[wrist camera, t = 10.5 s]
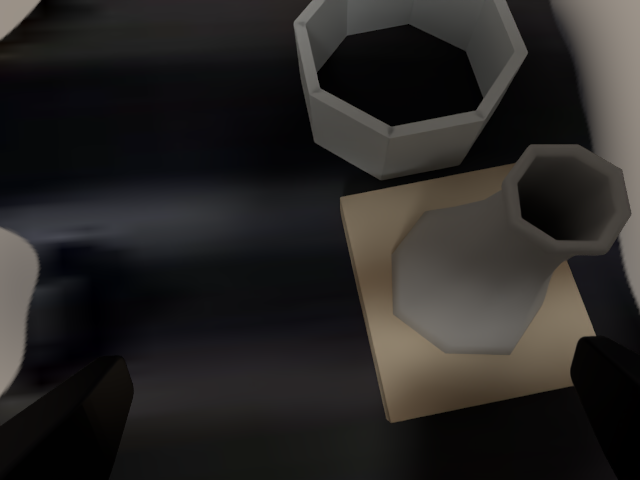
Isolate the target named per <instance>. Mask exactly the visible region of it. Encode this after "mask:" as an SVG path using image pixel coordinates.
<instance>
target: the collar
mask: <svg viewBox="0 0 640 480" xmlns="http://www.w3.org/2000/svg"><path fill="white" fill-rule="evenodd" d="M406 24H410V25H412V26H414V27H416V28H418V29H420V30H423V31H425V32H427V33H429V34H431V35H433V36H435V37H437V38H439V39H441V40H444V41H446V42H448V43H450V44H452V45H454V46H456V47H458V48H460V49H462V50H464V51H466V53H467V56H468V58H469V61H470V64H471V66H472V69H473V72H474V74H475V77H476V80H477V82H478V85H479V88H480V91H481V93H482V96H483V100H482V102H481V104H480V105H479V107H478V108H477V110H476V111H471V112H466V113H461V114H456V115H451V116H445V117H440V118H435V119H430V120H425V121H419V122H414V123H409V124H404V125H399V126H393V127H391V126H389V125H387V124H385V123H383V122H382V121H380V120H378V119H376V118H374V117H372V116H371V115H369V114H367V113H365V112H363V111H361V110H359V109H358V108H356V107H354V106H352V105H350V104H348V103H346V102H345V101H343V100H341V99H339V98H337V97H335V96H334V95H332V94H330V93H328V92H326V91H324V90H322V89H321V88H320V86H319V81H318V77H317V72H318V71H319V70H320V69H321V67H322V66H323V65H324V64H325V62H326V61H327V60H328V59H329V57H330V56H331V55H332V54H333V52H334V51H335V50H336V49H337V47H338V46H339V45H340V44H341V42H342V41H343V40H344V39H345V37H346V36H348V35H353V34H358V33H364V32H369V31H374V30H380V29H385V28H390V27H396V26H401V25H406ZM294 31H295V38H296V46H297V54H298V61H299V69H300V77H301V82H302V87H303V92H304V96H305V101H306V106H307V110H308V115H309V120H310V124H311V129H312V134H313V138H314V142H315V143H316V144H318V145H320V146H322V147H323V148H325V149H327V150H329V151H330V152H332V153H334V154H336V155H337V156H339V157H341V158H343V159H344V160H346V161H348V162H349V163H351V164H353V165H355V166H356V167H358V168H360V169H362V170H363V171H365V172H367V173H369V174H370V175H372V176H374V177H376V178H377V179H379V180H386V179H392V178H397V177H402V176H407V175H412V174H417V173H422V172H428V171H433V170H438V169H443V168H448V167H453V166H458V165H460V164H461V163H462V161H463V159H464V158H465V156H466V155H467V153H468V152H469V150H470V149H471V147H472V145H473V144H474V142H475V141H476V139H477V138H478V136H479V135H480V133H481V131H482V130H483V128H484V127H485V125H486V124H487V122H488V121H489V119H490V117H491V116H492V114H493V113H494V111H495V110H496V108H497V106H498V105H499V103H500V101H501V99H502V98H503V96H504V94H505V92H506V91H507V89H508V87H509V85H510V84H511V82H512V80H513V78H514V77H515V75H516V73H517V71H518V70H519V68H520V66H521V64H522V63H523V61H524V59H525V57H526V56H527V54H528V51H527V49H526V47H525V44H524V42H523V40H522V37H521V35H520V33H519V30H518V28H517V26H516V23H515V21H514V19H513V16H512V14H511V12H510V9H509V7H508V5H507V2H506V0H312V1H311V3H310V4H309V5H308V6H307V7H306V8H305V10H304V11H303V12H302V13H301V14H300V16H299V17H298V18H297V19H296V20H295V21H294Z"/></svg>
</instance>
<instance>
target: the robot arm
mask: <svg viewBox="0 0 640 480" xmlns="http://www.w3.org/2000/svg"><path fill="white" fill-rule="evenodd" d="M570 376H571V380H572V383H573V385H574V387H575V389H576V392H577V394H578V396H579V399H580V401H581V403H582V405H583V408H584V410H585V412H586V414H587V417H588V419H589V421H590V423H591V426H592V428H593V430H594V433H595V435H596V437H597V439H598V442H599V444H600V446H601V448H602V450H603V452H604V454H605V456H606V458H607V460H608V462H609V464H610V466H611V467H612V469H613V471H614V473H615V475H616V476H617V478H618V480H640V355H639V354H637V353H635V352H634V351H632V350H630V349H628V348H626V347H624V346H622V345H620V344H618V343H616V342H614V341H613V340H611V339H609V338H607V337H604V336H584V337H581V338H580V339H579V340H578V342H577V345H576V349H575V352H574V356H573V359H572V363H571V367H570ZM133 394H134V388H133V383H132V380H131V377H130V374H129V371H128V368H127V365H126V362H125V360H124V358H123V357H122V356H118V355H115V356H101V357H99V358H97V359H96V360H94V361H93V362H91V363H90V364H88V365H87V366H86V367H84V368H83V369H81V370H80V371H78V372H77V373H76V374H74V375H73V376H71V377H70V378H68V379H67V380H66V381H64V382H63V383H61V384H60V385H58V386H57V387H56V388H54V389H53V390H51V391H50V392H48V393H47V394H46V395H44V396H43V397H41V398H40V399H38V400H37V401H36V402H34V403H33V404H31V405H30V406H28V407H27V408H26V409H24V410H23V411H21V412H20V413H18V414H17V415H15V416H14V417H13V418H11V419H10V420H8V421H7V422H5V423H4V424H3V425H1V426H0V480H108V479H109V477H110V474H111V471H112V468H113V465H114V462H115V458H116V455H117V451H118V448H119V444H120V441H121V437H122V434H123V430H124V427H125V423H126V420H127V417H128V413H129V410H130V406H131V403H132V399H133Z"/></svg>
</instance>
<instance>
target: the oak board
mask: <svg viewBox="0 0 640 480" xmlns="http://www.w3.org/2000/svg"><path fill="white" fill-rule="evenodd" d="M515 164H516V163H513V164H508V165H503V166H498V167H493V168H488V169H482V170H477V171H472V172H467V173H462V174H457V175H452V176H447V177H441V178H436V179H431V180H426V181H421V182H416V183H411V184H406V185H400V186H395V187H390V188H385V189H380V190H375V191H370V192H365V193H359V194H354V195H349V196H344V197H340V213H341V218H342V222H343V227H344V231H345V236H346V240H347V245H348V249H349V254H350V258H351V262H352V267H353V271H354V276H355V280H356V285H357V289H358V294H359V298H360V303H361V307H362V312H363V316H364V321H365V325H366V330H367V334H368V339H369V343H370V348H371V352H372V356H373V361H374V365H375V370H376V374H377V379H378V383H379V388H380V392H381V397H382V401H383V406H384V410H385V415H386V419H387V420H388V421H389V422H391V423H393V422H398V421H403V420H408V419H413V418H418V417H423V416H428V415H433V414H437V413H442V412H447V411H452V410H457V409H462V408H467V407H472V406H477V405H481V404H486V403H491V402H496V401H501V400H506V399H511V398H516V397H520V396H525V395H530V394H535V393H540V392H545V391H550V390H555V389H560V388H564V387H569V386H574V385H573V383H572V380H571V376H570V367H571V363H572V359H573V356H574V352H575V349H576V345H577V342H578V340H579V339H580V338H581V337H584V336H596V334H595V332H594V329H593V327H592V324H591V322H590V319H589V316H588V314H587V311H586V309H585V306H584V304H583V301H582V298H581V296H580V293H579V291H578V288H577V286H576V283H575V281H574V278H573V275H572V273H571V270H570V268H569V265H568V263H567V260H566V261H564V262H562V263H561V264H560V265H559V266H558V267H557V268H556V269H555V270H554V272H553V274H552V277H551V279H550V282H549V286H548V289H547V293H546V296H545V299H544V302H543V304H542V306H541V308H540V309H539V311H538V312H537V314H536V315H535V317H534V318H533V320H532V322H531V323H530V325H529V326H528V328H527V329H526V331H525V332H524V334H523V336H522V337H521V339H520V340H519V342H518V343H517V345H516V346H515V348H514V350H513V351H512V353H511V354H510V355H489V354H448V353H444V352H443V351H441V350H440V349H439V348H437V347H436V346H435V345H433V344H432V343H431V342H429V341H428V340H427V339H425V338H424V337H423V336H421V335H420V334H419V333H417V332H416V331H415V330H413V329H412V328H411V327H409V326H408V325H407V324H405V323H404V322H403V321H401V320H400V319H399V318H397V317H396V316H395V315H393V295H392V258H391V255H392V254H393V253H394V251H395V250H396V249H397V247H398V246H399V245H400V243H401V242H402V241H403V239H404V238H405V237H406V236H407V234H408V233H409V232H410V230H411V229H412V228H413V226H414V225H415V224H416V223H417V221H418V220H419V219H420V217H421V216H422V215H423V213H424V212H426V211H430V210H436V209H443V208H450V207H455V206H460V205H464V204H468V203H473V202H477V201H481V200H485V199H487V198H488V197H490V196H492V195H493V194H495V193H497V192H498V191H500V190H502V187H501V185H502V182H503V180H504V179H505V177H506V176H507V175H508V173H509V172H510V171H511V169H512V168H513V166H514V165H515Z"/></svg>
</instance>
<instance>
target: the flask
mask: <svg viewBox="0 0 640 480" xmlns="http://www.w3.org/2000/svg"><path fill="white" fill-rule="evenodd" d="M501 187H502V190H500V191H498V192H497V193H495V194H493V195H492V196H490V197H488V198H487V199H485V200H481V201H477V202H473V203H468V204H464V205H460V206H455V207H450V208H443V209H436V210H430V211H426V212H424V213H423V215H422V216H421V217H420V219H419V220H418V221H417V223H416V224H415V225H414V226H413V228H412V229H411V230H410V232H409V233H408V234H407V236H406V237H405V238H404V239H403V241H402V242H401V243H400V245H399V246H398V247H397V249H396V250H395V251H394V253H393V254H392V255H391V258H392V295H393V315H395V316H396V317H397V318H399V319H400V320H401V321H403V322H404V323H405V324H407V325H408V326H409V327H411V328H412V329H413V330H415V331H416V332H417V333H419V334H420V335H421V336H423V337H424V338H425V339H427V340H428V341H429V342H431V343H432V344H433V345H435V346H436V347H437V348H439V349H440V350H441V351H443V352H444V353H448V354H489V355H510V354H511V353H512V351H513V350H514V348H515V346H516V345H517V343H518V342H519V340H520V339H521V337H522V336H523V334H524V332H525V331H526V329H527V328H528V326H529V325H530V323H531V322H532V320H533V318H534V317H535V315H536V314H537V312H538V311H539V309H540V308H541V306H542V304H543V302H544V299H545V296H546V293H547V289H548V286H549V282H550V279H551V277H552V274H553V272H554V270H555V269H556V268H557V267H558V266H559V265H560V264H561V263H562V262H564V261H566V260H567V259H569V258H571V257H573V256H574V255H604V254H605V253H607V252H608V251H609V249H610V248H611V246H612V245H613V243H614V241H615V240H616V238H617V237H618V235H619V233H620V232H621V230H622V229H623V227H624V225H625V224H626V222H627V221H628V219H629V217H630V216H631V210H630V205H629V200H628V196H627V191H626V187H625V182H624V177H623V173H622V169H620V168H618V167H616V166H614V165H613V164H611V163H609V162H607V161H606V160H604V159H602V158H601V157H599V156H597V155H596V154H594V153H592V152H590V151H589V150H587V149H585V148H583V147H582V146H580V145H578V144H530V145H529V146H528V147H527V149H526V150H525V151H524V153H523V154H522V155H521V157H520V158H519V160H518V161H517V162H516V164H515V165H514V166H513V168H512V169H511V171H510V172H509V173H508V175H507V176H506V177H505V179H504V180H503V182H502V185H501Z"/></svg>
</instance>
